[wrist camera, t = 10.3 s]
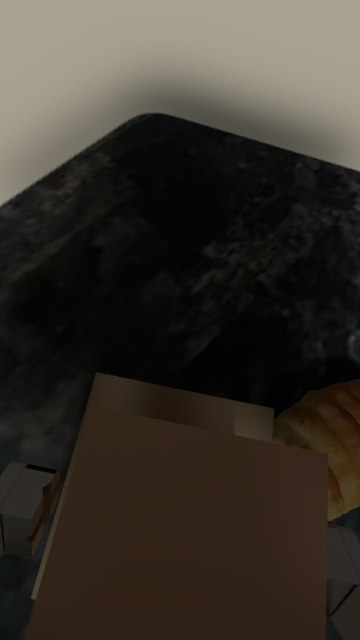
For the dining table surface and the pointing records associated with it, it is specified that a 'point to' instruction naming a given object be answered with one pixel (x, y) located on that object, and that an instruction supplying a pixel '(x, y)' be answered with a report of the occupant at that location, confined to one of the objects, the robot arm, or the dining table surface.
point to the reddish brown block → (185, 538)
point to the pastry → (328, 438)
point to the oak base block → (167, 419)
